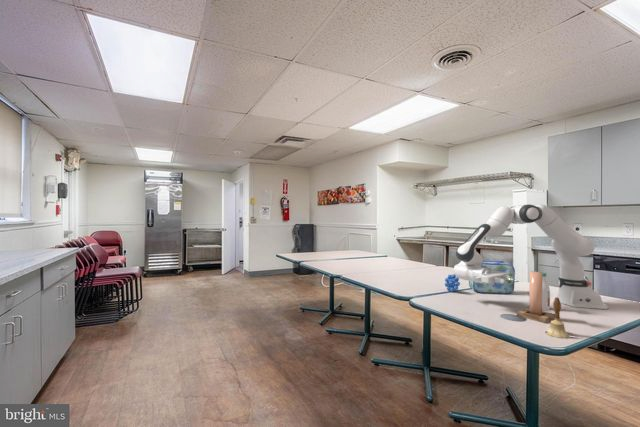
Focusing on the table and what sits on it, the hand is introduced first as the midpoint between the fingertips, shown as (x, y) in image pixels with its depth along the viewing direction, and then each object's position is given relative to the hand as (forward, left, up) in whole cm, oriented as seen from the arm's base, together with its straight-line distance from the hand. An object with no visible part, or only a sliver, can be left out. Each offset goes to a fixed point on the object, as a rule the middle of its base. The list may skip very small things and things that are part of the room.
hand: (508, 280), depth 160 cm
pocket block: (-11, +6, -17) cm, 21 cm away
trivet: (-1, +12, -17) cm, 21 cm away
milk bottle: (-16, -14, -17) cm, 28 cm away
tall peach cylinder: (-11, +6, -16) cm, 20 cm away
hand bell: (-16, +25, -17) cm, 34 cm away
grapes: (+29, -32, -17) cm, 47 cm away
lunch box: (+6, -44, -17) cm, 47 cm away
